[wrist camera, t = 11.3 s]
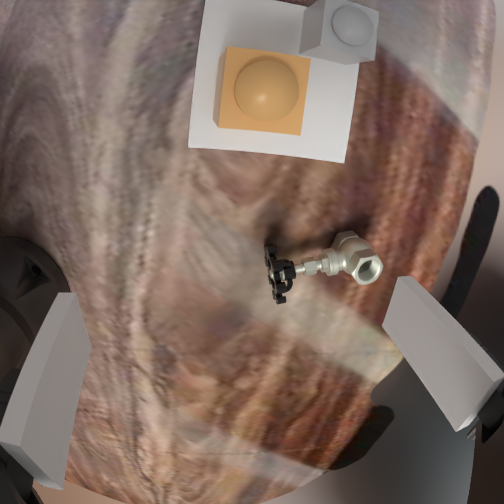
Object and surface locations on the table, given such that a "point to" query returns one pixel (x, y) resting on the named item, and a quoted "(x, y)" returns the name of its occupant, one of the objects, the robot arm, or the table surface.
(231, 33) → the plate
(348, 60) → the cube with dome button
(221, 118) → the domed tan cube
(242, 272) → the table surface
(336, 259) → the valve
